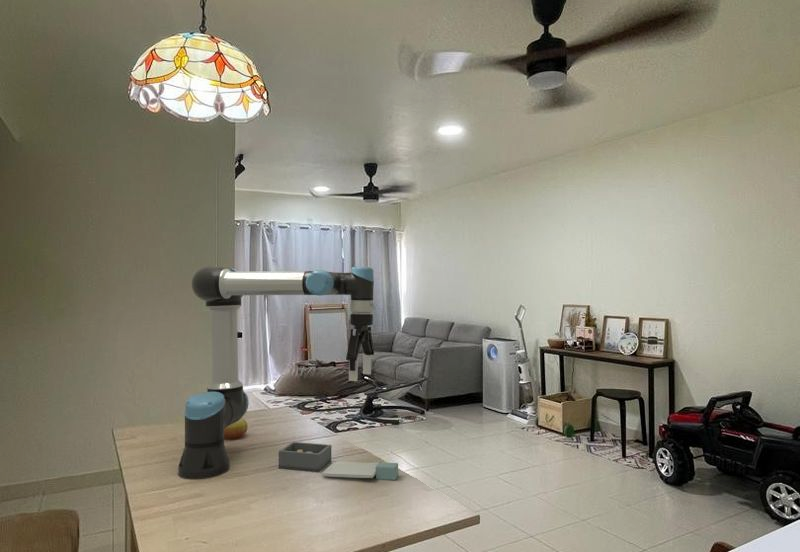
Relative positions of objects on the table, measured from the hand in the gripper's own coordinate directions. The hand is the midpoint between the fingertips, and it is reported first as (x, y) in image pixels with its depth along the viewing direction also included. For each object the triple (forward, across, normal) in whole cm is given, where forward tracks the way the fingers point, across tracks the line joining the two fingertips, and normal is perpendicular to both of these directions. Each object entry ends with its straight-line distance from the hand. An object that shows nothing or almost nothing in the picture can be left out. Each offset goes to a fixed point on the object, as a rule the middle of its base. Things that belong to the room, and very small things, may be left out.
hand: (360, 377), depth 164 cm
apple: (+29, +14, +56) cm, 65 cm away
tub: (+28, -7, +16) cm, 33 cm away
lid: (+28, -10, -5) cm, 30 cm away
